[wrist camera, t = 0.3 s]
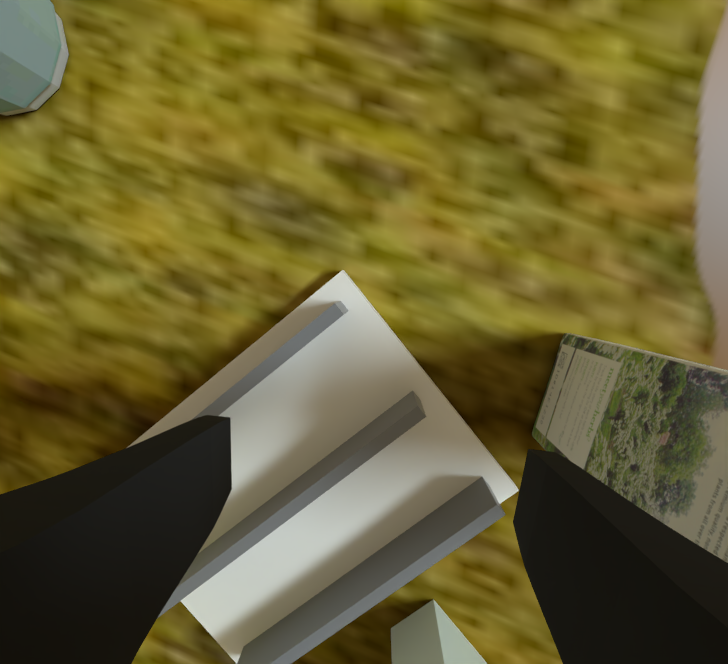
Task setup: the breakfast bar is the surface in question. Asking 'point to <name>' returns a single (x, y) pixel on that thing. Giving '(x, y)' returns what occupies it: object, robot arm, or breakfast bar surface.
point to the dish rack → (329, 479)
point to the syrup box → (644, 431)
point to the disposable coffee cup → (29, 54)
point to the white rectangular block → (431, 640)
